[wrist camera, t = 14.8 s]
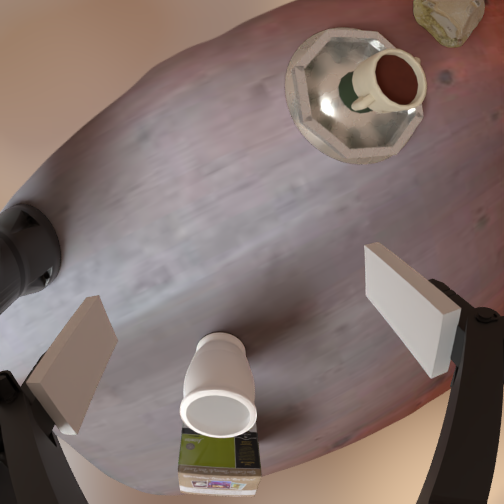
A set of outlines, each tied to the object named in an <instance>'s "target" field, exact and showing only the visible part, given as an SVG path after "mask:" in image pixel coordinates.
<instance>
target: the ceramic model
mask: <svg viewBox="0 0 504 504" xmlns="http://www.w3.org/2000/svg"><path fill="white" fill-rule="evenodd" d="M413 3H414V5H413V6H414V9H413V11H414V12H413V13H414V16H415V19H416V21H417V23H418V24H419V25H421V26H422V27H424V28H425V29H426V30H427V31H428V32H429V33H430V34H431V35H432V36H433V37H434V38H435V39H436V40H437V41H438V42H439V43H440V44H441V45H443V46H446V47H461V46H462V44H463V43H464V42H465V41H466V40H467V38H468V37H469V36H470V34H471V33H472V30H473V29H475V28H476V26H477V25H478V23H479V22H480V21H481V19H482V17H483V14H484V7H485V3H484V0H414V2H413Z"/></svg>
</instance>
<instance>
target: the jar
mask: <svg viewBox="0 0 504 504" xmlns="http://www.w3.org/2000/svg"><path fill="white" fill-rule="evenodd" d="M183 394H184V399H183V400H182V402H181V405H180V416H181V419H182V420H183V422H184V423H185V424H186V425H187V426H188V427H189V428H190V429H192V430H193V431H195V432H197V433H199V434H202V435H205V436H208V437H214V438H229V437H234V436H238V435H241V434H243V433H245V432H246V431H248V430H249V429H250V428H251V427H252V426H253V425H254V423H255V421H256V418H257V411H256V407H255V405H254V399H255V384H254V379H253V375H252V372H251V369H250V366H249V362H248V360H247V358H246V351H245V347H244V345H243V344H242V342H241V341H240V340H239V339H238V338H236V337H235V336H233V335H231V334H227V333H212V334H209V335H207V336H205V337H203V338H202V339H201V340H200V342H199V343H198V345H197V349H196V353H195V355H194V357H193V359H192V361H191V363H190V365H189V368H188V370H187V373H186V376H185V380H184V390H183Z"/></svg>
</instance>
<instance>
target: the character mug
mask: <svg viewBox="0 0 504 504" xmlns="http://www.w3.org/2000/svg"><path fill="white" fill-rule="evenodd" d="M420 62H421V61H420V59H419V58H417V57H415V58H414V57H413V56H412V55H411V54H409V53H407V52H405V51H403V50H401V49H394V48H388V49H386V50H383V51H381V52H378V53H376V54H374V55H373V56H371V57H369V58H367V59H366V60H364V61H362V62H360V63H359V65H358V66H357V67H356V69H355V70H354V71H352V72H349V73H347V74H346V75H345V76H343V77H342V78H341V81H340V83H339V86H338V87H339V96H340V97H341V99H342V101H343V103H344V105H345V106H347V107H348V108H349V109H350V110H351V111H353V112H357V113H360V114H361V113H367V112H370V111H376V112H379V113H390V112H396V111H403V110H409V109H413V108H416V107H417V106H419V105H420V104H421V103H422V102H423V100H424V98H425V96H426V91H427V82H426V76H425V73H424V71H423V69H422V67H421V65H420Z"/></svg>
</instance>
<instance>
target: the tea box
mask: <svg viewBox="0 0 504 504" xmlns="http://www.w3.org/2000/svg"><path fill="white" fill-rule="evenodd" d="M178 476H179V485H180V492H181V493H188V494H200V495H214V496H252V497H253V496H255V494H256V491H257V488H258V485H259V483H260V480H261V477H262V474H261V464H260V454H259V444H258V434H257V426H256V421H255V423H254V425H253V426H252V427H251V428H250V429H249V430H248V431H246V432H245V433H243V434H241V435H238V436H234V437H229V438H214V437H208V436H205V435H202V434H199V433H197V432H195V431H193V430H192V429H190V428H189V427H188V426H187V425H186V424H185V423H184V422H183V426H182V434H181V443H180V452H179V462H178Z"/></svg>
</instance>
